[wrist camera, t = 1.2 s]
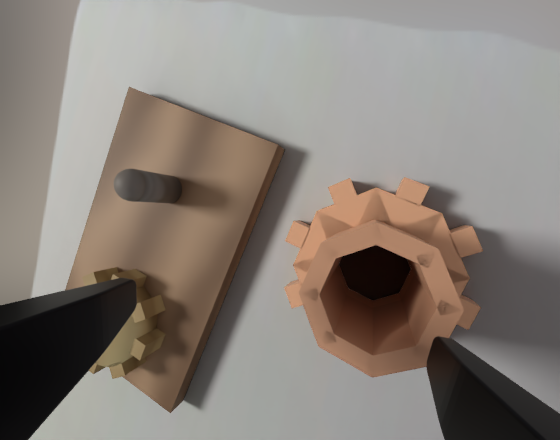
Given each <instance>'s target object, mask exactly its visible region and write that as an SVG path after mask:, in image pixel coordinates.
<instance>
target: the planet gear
mask: <svg viewBox="0 0 560 440" xmlns="http://www.w3.org/2000/svg"><path fill="white" fill-rule="evenodd" d="M328 189H329V191H330V194H331V196H332V199H333V201H334V204H333V205H331V206H328V207H326V208H323V209H321V210H318V211H316V214H315V216H314V219H313V221H312V223H311V225H308V224H306V223H304V222H302V221H293V224H292V226H291V228H290V231H289V233H288V235H287V238H286V240H285V241H286V242H288V243H290V244H292V245H294V246H296V247H299V248H300V251H299V253H298V255H297V258H296V260H295V262H294V264H293V266H294V268H295V271H296V274H297V276H298V280H295V281H292V282H290V283H289V284H288V285H286V286H285V287H284V288H285V291H286V294H287V296H288V299H289V302H290V305H291V307H292V308H295V307H298V306H301V305H303V306H304V309H305V311H306V314H307V317H308V320H309V322H310V325H311V328H312V330H313V333H314V336H315V338H316V341H317V344H318V346H319V347H320V348H322V349H324V350H326V351H327V352H329V353H331V354H332V355H334V356H336V357H338V358H339V359H341V360H343V361H345V362H346V363H348V364H350V365H351V366H353V367H355V368H357V369H358V370H360V371H362V372H364V373H365V374H367V375H369V376H371V377H378V376H383V375H387V374H392V373H397V372H402V371H407V370H412V369H417V368H422V367H427V358H428V355H429V352H430V348H431V345H432V342H433V339H434V338H435V337H436V336H441V337H446V338H449V337H450V335H451V333H452V332H453V330H454V328H455V326H456V324H457V325H459V326H461V327H463V328H465V329H467V330H469V328H470V326H471V325H472V323H473V321H474V319H475V317H476V316H477V314H478V312H479V310H480V308H481V307H480V306H479V305H478V304H476V303H475V302H474V301H473V300H472V299H470V298H468V297H465V296H463V295H461V294H462V292H463V290H464V288H465V286H466V284H467V283H468V281H469V279H470V278H469V276H468V273H467V271H466V269H465V266H464V264H463V262H462V259H461V258H462V257H465V256H469V255H472V254H475V253H479V252H482V251H483V249H482V247H481V245H480V242H479V240H478V238H477V235H476V233H475V231H474V229H473V226H467V225H463V226H460V227H457V228H454V229H451V230H449V229H448V226H447V224H446V222H445V219H444V217H443V214H442V213H440V212H437V211H435V210H432V209H430V208H427V207H425V206H422V205H421V203H422V201H423V199H424V197H425V195H426V193H427V191H428V189H429V186H427V185H424V184H421V183H419V182H416V181H413V180H411V179H408V178H405V177H404V178H403V179H402V181H401V183H400V185H399V187H398V189H397V191H396V194H395V195H394V194H391V193H389V192H386V191H384V190H381V189H379V188H377V187H376V188H374V189H371V190H369V191H366V192H364V193H361V194H359V195H357V193H356V190H355V188H354V185H353V183H352V180H351V179H350V178H349V179H347V180H344V181H342V182H339V183H337V184H335V185H332V186H330V187H328ZM375 245H378V246H380V247H382V248H384V249H386V250H389V251H391V252H393V253H395V254H398V255H400V256H402V257H404V258H407V261H408V263H409V266H410V268H411V270H410V272H409V274H408V276H407V278H406V280H405V282H404V284H403V286H402V288H401V290H400V292H399V293H397V294H394V295H390V296H387V297H383V298H380V299H376V300H371V299H369V298H367V297H365V296H363V295H361V294H359V293H357V292H355V291H353V290H351V289H349V288H348V286H347V283H346V281H345V278H344V276H343V273H342V270H341V268H340V265H339V263H340V261H341V259H342V257H343V256H345V255H348V254H351V253H354V252H357V251H360V250H363V249H366V248H369V247H372V246H375Z"/></svg>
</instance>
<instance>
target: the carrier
mask: <svg viewBox="0 0 560 440" xmlns="http://www.w3.org/2000/svg"><path fill="white" fill-rule="evenodd" d="M284 150H285V149H283V148H282V147H281V146H279V145H278V144H275V143H272V142H270V141H267V140H265V139H262V138H259V137H257V136H254V135H252V134H249V133H247V132H244V131H241V130H239V129H236V128H234V127H231V126H229V125H226V124H223V123H221V122H218V121H216V120H213V119H211V118H208V117H205V116H203V115H200V114H198V113H195V112H192V111H190V110H187V109H185V108H182V107H180V106H177V105H174V104H172V103H169V102H167V101H164V100H162V99H159V98H156V97H154V96H151V95H149V94H146V93H144V92H141V91H138V90H136V89H133V88H131V87H129V89H128V92H127V95H126V98H125V101H124V105H123V108H122V111H121V114H120V117H119V120H118V124H117V127H116V130H115V133H114V136H113V140H112V143H111V146H110V149H109V152H108V155H107V159H106V162H105V165H104V168H103V171H102V175H101V178H100V181H99V184H98V187H97V190H96V194H95V197H94V200H93V203H92V206H91V210H90V213H89V216H88V219H87V222H86V225H85V229H84V232H83V235H82V238H81V241H80V245H79V248H78V251H77V254H76V257H75V260H74V264H73V267H72V270H71V273H70V276H69V280H68V283H67V286H66V289H65V290H70V289H74V288H78V287H83V286H87V285H91V284H96V283H100V282H104V281H109V280H113V279H117V278H128V279H133V280H134V281H135V282H136V289H137V305H136V308H135V310H134V312H133V313H132V315H131V316H130V318H129V319H128V320H127V322H126V323H125V325H124V326H123V327H122V329H121V330H120V331H119V333H118V334H117V336H116V337H115V338H114V340H113V341H112V343H111V344H110V345H109V347H108V348H107V349H106V350H105V352H104V353H103V354H102V355H101V357H100V358H99V359H98V360H97V361H96V362H95V364H94V365H93V366H92V367H91V368H90V369H89V371H90V372H91V373H93V374H95V373H96V372H98V371H100V370H101V369H103V368H105V367H109V368H110V371H111V375H112V378H113V379H114V378H118V377H121V376H122V377H124V378H125V379H126V380H128V381H129V382H130V383H131V384H133V385H134V386H135V387H137V388H138V389H139V390H141V391H142V392H143V393H145V394H146V395H147V396H149V397H150V398H151V399H153V400H154V401H155V402H156V403H158V404H159V405H160V406H162V407H163V408H164V409H166V410H167V411H168V412H170V413H171V412H172V411H173V410H174V409H175V408H176V407H177V406H178V405H179V404H180V403H181V402H182V401H183V399H184V397H185V394H186V392H187V389H188V387H189V385H190V382H191V380H192V377H193V375H194V372H195V370H196V367H197V365H198V362H199V360H200V357H201V355H202V352H203V350H204V348H205V345H206V343H207V340H208V338H209V335H210V333H211V330H212V328H213V325H214V323H215V320H216V318H217V316H218V313H219V311H220V308H221V306H222V303H223V301H224V298H225V296H226V293H227V291H228V288H229V286H230V284H231V281H232V279H233V276H234V274H235V271H236V269H237V266H238V264H239V261H240V259H241V256H242V254H243V251H244V249H245V247H246V244H247V242H248V239H249V237H250V234H251V232H252V229H253V227H254V224H255V222H256V219H257V217H258V215H259V212H260V210H261V207H262V205H263V202H264V200H265V197H266V195H267V192H268V190H269V187H270V185H271V183H272V180H273V178H274V175H275V173H276V170H277V168H278V165H279V163H280V160H281V158H282V155H283V153H284Z"/></svg>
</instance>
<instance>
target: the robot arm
mask: <svg viewBox="0 0 560 440" xmlns="http://www.w3.org/2000/svg"><path fill="white" fill-rule="evenodd" d="M136 305H137V289H136V282H135V281H134V280H133V279H128V278H117V279H113V280H109V281H104V282H100V283H96V284H91V285H87V286H83V287H78V288H74V289H70V290H65V291H61V292H57V293H52V294H48V295H44V296H39V297H35V298H31V299H27V300H22V301H18V302H13V303H9V304H5V305H0V440H28V439H29V438H30V437H31V436H32V435H33V434H34V432H35V431H36V430H37V429H38V428H39V427H40V426H41V424H42V423H43V422H44V421H45V420H46V419H47V417H48V416H49V415H50V414H51V413H52V412H53V411H54V409H55V408H56V407H57V406H58V405H59V404H60V403H61V401H62V400H63V399H64V398H65V397H66V396H67V395H68V393H69V392H70V391H71V390H72V389H73V388H74V387H75V385H76V384H77V383H78V382H79V381H80V380H81V379H82V377H83V376H84V375H85V374H86V373H87V372H88V371H89V369H90V368H91V367H92V366H93V365H94V364H95V362H96V361H97V360H98V359H99V358H100V357H101V355H102V354H103V353H104V352H105V350H106V349H107V348H108V347H109V345H110V344H111V343H112V341H113V340H114V338H115V337H116V336H117V334H118V333H119V331H120V330H121V329H122V327H123V326H124V325H125V323H126V322H127V320H128V319H129V318H130V316H131V315H132V313H133V312H134V310H135V308H136ZM427 372H428V376H429V381H430V385H431V389H432V393H433V398H434V402H435V406H436V411H437V415H438V419H439V423H440V426H441V430H442V433H443V436H444V439H445V440H560V414H559V413H558V412H556V411H555V410H553V409H552V408H551V407H549V406H548V405H546V404H545V403H543V402H542V401H541V400H539V399H538V398H536V397H535V396H533V395H532V394H530V393H529V392H528V391H526V390H525V389H523V388H522V387H520V386H519V385H518V384H516V383H515V382H513V381H512V380H510V379H509V378H508V377H506V376H505V375H503V374H502V373H500V372H499V371H497V370H496V369H495V368H493V367H492V366H490V365H489V364H487V363H486V362H485V361H483V360H482V359H480V358H479V357H477V356H476V355H475V354H473V353H472V352H470V351H469V350H467V349H466V348H464V347H463V346H462V345H460V344H459V343H457V342H456V341H454V340H453V339H451V338H446V337H441V336H436V337H435V338H434V339H433V342H432V345H431V348H430V352H429V355H428V358H427Z"/></svg>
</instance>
